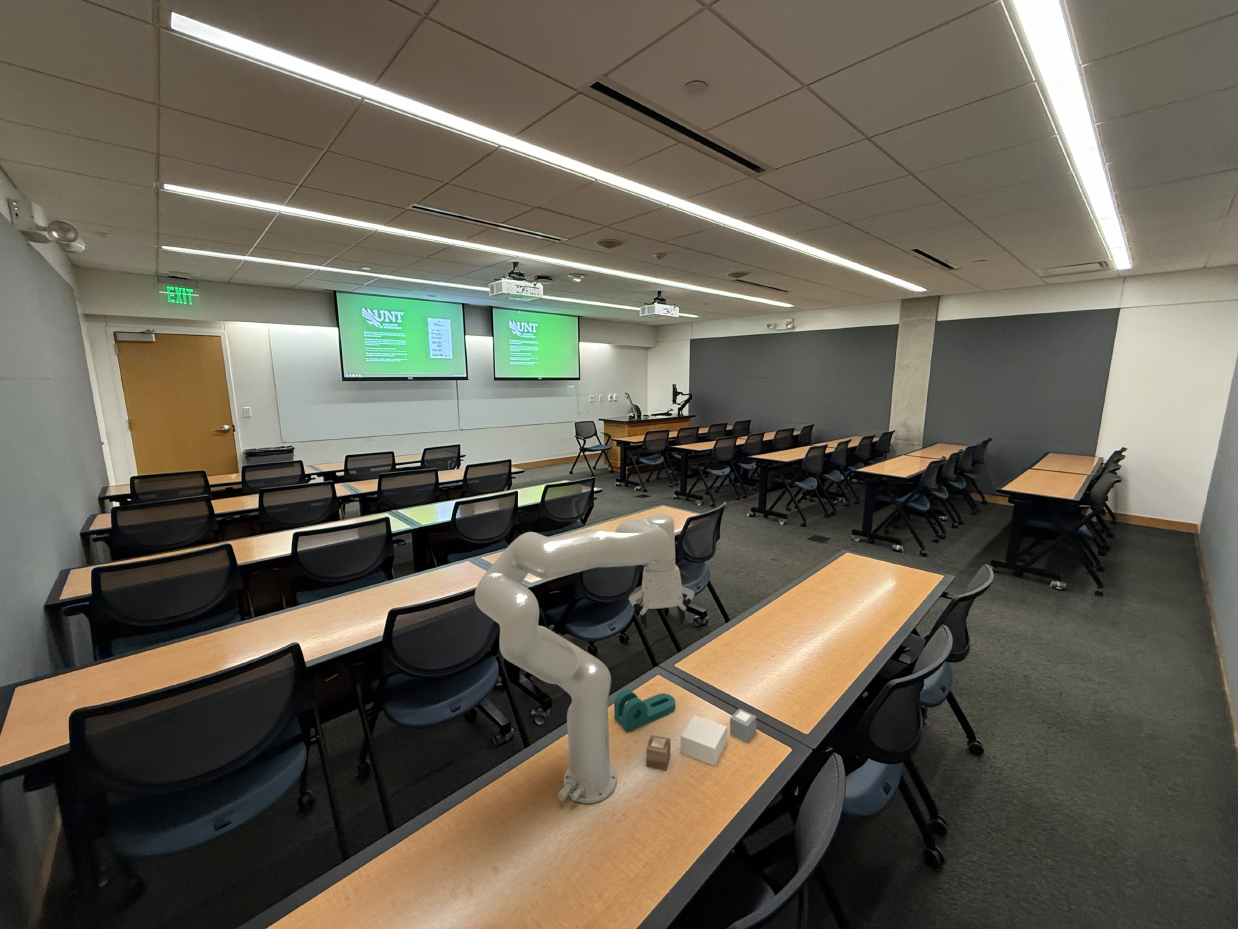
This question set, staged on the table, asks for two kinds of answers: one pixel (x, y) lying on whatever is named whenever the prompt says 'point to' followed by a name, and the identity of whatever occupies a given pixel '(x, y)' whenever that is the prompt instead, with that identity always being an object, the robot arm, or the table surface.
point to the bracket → (641, 709)
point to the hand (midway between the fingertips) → (662, 624)
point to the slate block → (743, 725)
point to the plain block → (704, 740)
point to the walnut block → (658, 752)
